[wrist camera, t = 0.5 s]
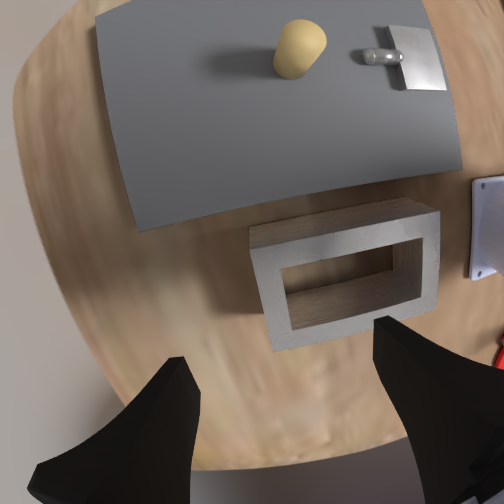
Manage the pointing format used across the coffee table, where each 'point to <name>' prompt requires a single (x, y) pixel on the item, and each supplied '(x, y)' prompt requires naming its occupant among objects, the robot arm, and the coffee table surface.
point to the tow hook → (500, 357)
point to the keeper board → (262, 102)
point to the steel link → (353, 291)
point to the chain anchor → (409, 58)
